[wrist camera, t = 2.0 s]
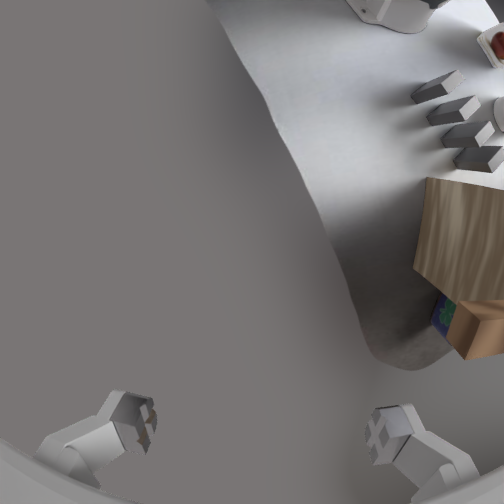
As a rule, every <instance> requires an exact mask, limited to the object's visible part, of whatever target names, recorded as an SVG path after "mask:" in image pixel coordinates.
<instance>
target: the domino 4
mask: <svg viewBox="0 0 504 504" xmlns="http://www.w3.org/2000/svg"><path fill="white" fill-rule="evenodd" d="M503 160H504V148H503V146H481V147H473V148H465V149H464V150H463V151H462V152H461V153H460V154H459V155H458V156H457V157H456V158H455V159H454V160H453V162H454V163H455V165H456V167H457V169H461V170H470V171H479V172H487V173H493V172H494V171H495V170H496V169H497V167H498V166H499V165H500V164H501V163H502V162H503Z"/></svg>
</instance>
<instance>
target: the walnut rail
mask: <svg viewBox="0 0 504 504" xmlns="http://www.w3.org/2000/svg"><path fill="white" fill-rule="evenodd" d="M446 339H447V340H448V341H449V342H450V343H451V345H452V346H453V347H454V348H455V349H456V351H457V352H458V353H459V354H460V355H461V357H463V359H464V360H470V359H476V358H481V357H487V356H492V355H496V354H501V353H504V300H487V301H458V303H457V307H456V310H455V313H454V316H453V319H452V321H451V324H450V327H449V330H448V333H447V335H446Z"/></svg>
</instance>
